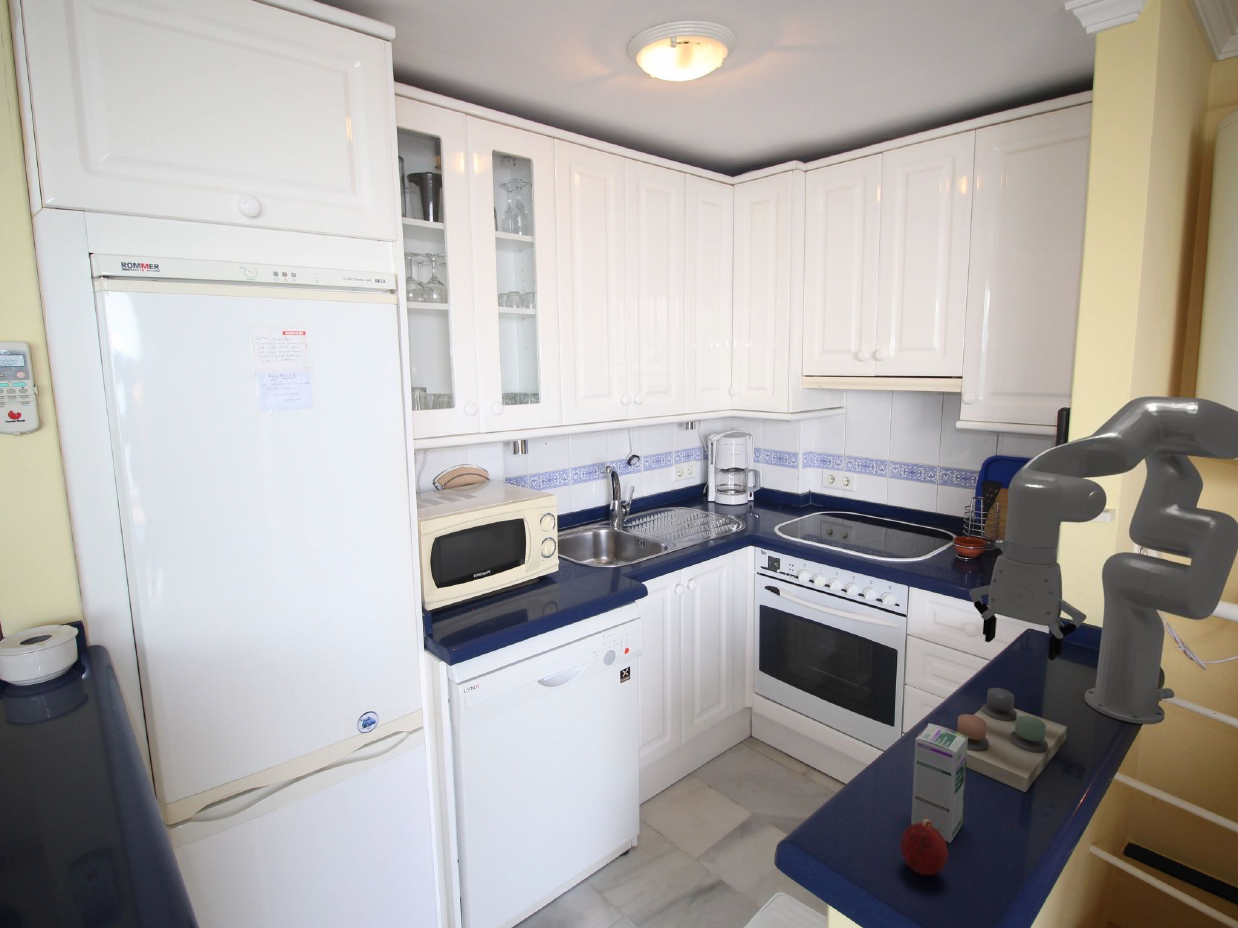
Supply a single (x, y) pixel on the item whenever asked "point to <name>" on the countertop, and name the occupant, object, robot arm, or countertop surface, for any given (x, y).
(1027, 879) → the countertop surface
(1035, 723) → the green button
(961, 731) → the terracotta button
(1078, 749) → the countertop surface
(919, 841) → the onion
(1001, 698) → the charcoal button
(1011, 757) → the button panel
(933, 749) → the syrup box
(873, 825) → the countertop surface
